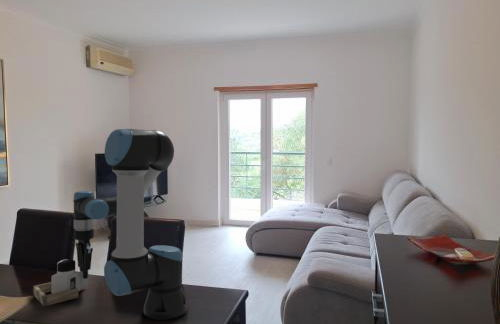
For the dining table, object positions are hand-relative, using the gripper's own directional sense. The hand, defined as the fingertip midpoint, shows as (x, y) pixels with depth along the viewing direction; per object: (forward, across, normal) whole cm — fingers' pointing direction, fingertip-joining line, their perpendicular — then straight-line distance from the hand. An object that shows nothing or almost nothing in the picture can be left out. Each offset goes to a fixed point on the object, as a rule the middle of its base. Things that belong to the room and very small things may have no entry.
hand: (84, 285), depth 151 cm
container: (+2, +1, +7) cm, 7 cm away
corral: (+2, 0, +10) cm, 10 cm away
